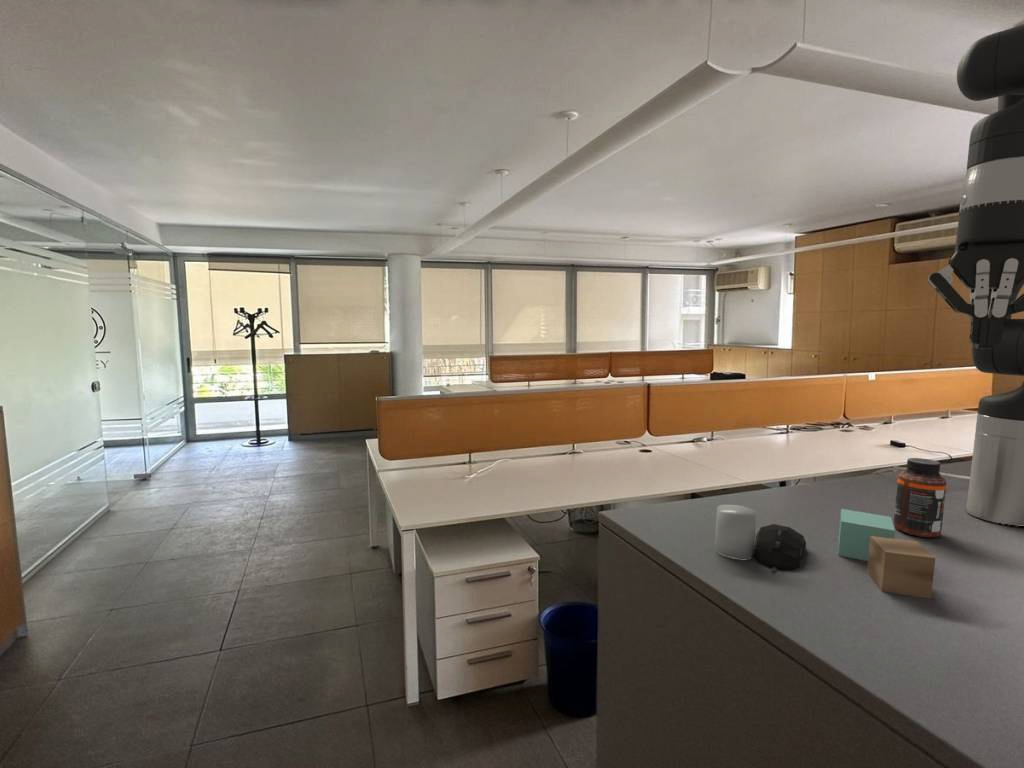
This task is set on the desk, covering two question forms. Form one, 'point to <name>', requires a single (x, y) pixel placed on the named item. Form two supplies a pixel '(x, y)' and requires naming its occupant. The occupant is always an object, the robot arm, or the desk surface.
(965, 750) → the desk surface
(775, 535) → the gaming mouse
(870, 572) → the walnut block
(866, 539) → the teal block
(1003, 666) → the desk surface
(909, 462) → the supplement bottle
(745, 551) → the grey cylinder
